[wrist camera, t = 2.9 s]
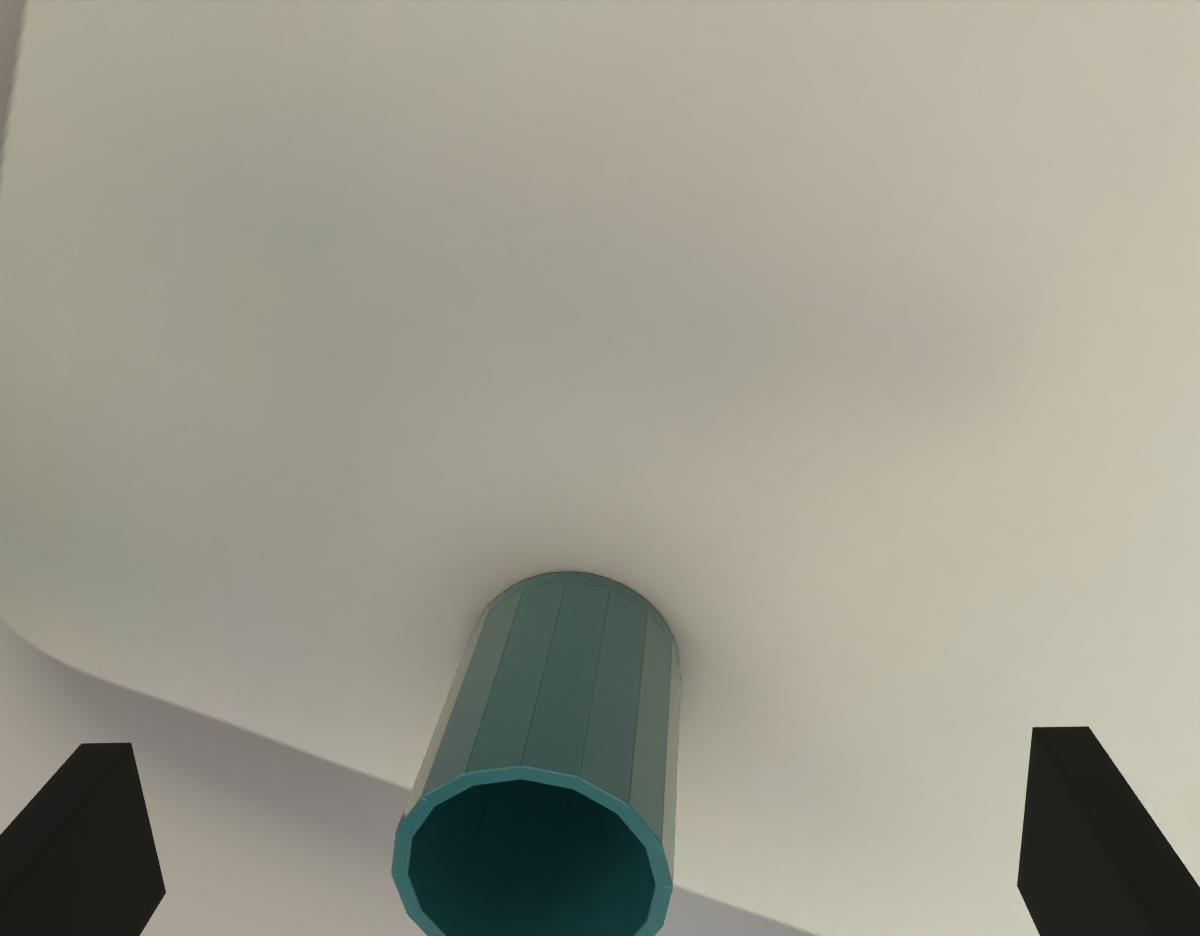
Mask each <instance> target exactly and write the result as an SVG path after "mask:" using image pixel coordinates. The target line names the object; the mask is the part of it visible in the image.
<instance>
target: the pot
mask: <svg viewBox="0 0 1200 936" xmlns="http://www.w3.org/2000/svg"><path fill="white" fill-rule="evenodd" d="M680 683H681V678H680V673H679V658H678V652H677V647H676V644H675V641H674V638H673V636H672V634H671V632H670V630H669V628H668V626H667V624H666V623H665V621H664V620H663V618H662V617H661V615H660V614H659V613H658V612H657V611H656V610H655V609H654V607H653V606H652V605H651V604H649V603H648V602H647V601H646V600H645V599H644V598H643V597H641V596H640V595H638V594H637V593H636V592H634V591H633V590H631V589H629V588H628V587H626V586H624V585H622V584H620V583H618V582H615V581H613V580H610V579H607V578H605V577H601V576H597V575H593V574H587V573H579V572H557V573H548V574H543V575H539V576H535V577H532V578H529V579H526V580H524V581H521V582H519V583H518V584H516V585H514V586H512V587H510V588H509V589H507V590H506V591H504V592H503V593H501V594H500V595H499V596H498V597H497V598H496V599H495V600H494V601H493V602H491V604H490V605H489V606H488V607H487V609H486V610H485V611H484V612H483V614H482V616H481V618H480V619H479V621H478V623H477V626H476V628H475V631H474V632H473V634H472V635H471V637H470V638H469V641H468V644H467V646H466V649H465V651H464V654H463V657H462V659H461V662H460V665H459V667H458V670H457V673H456V675H455V678H454V680H453V683H452V686H451V688H450V691H449V694H448V696H447V699H446V702H445V704H444V707H443V709H442V712H441V715H440V717H439V720H438V723H437V725H436V728H435V730H434V733H433V736H432V738H431V741H430V744H429V746H428V749H427V752H426V754H425V757H424V759H423V762H422V765H421V767H420V770H419V773H418V775H417V778H416V780H415V783H414V786H413V788H412V791H411V794H410V796H409V799H408V802H407V804H406V807H405V809H404V812H403V815H402V817H401V820H400V823H399V825H398V828H397V830H396V834H395V843H394V853H393V862H392V877H393V879H394V882H395V885H396V887H397V890H398V892H399V895H400V897H401V900H402V902H403V905H404V907H405V910H406V913H407V914H408V916H409V917H410V918H411V919H412V920H413V921H414V922H415V923H416V924H417V925H418V926H419V927H420V928H421V929H422V930H423V932H424V933H425V934H426V935H427V936H655V934H656V933H657V932H658V931H659V930H660V929H661V928H662V926H663V924H664V920H665V916H666V912H667V908H668V904H669V900H670V896H671V893H672V889H673V873H674V845H675V818H676V791H677V764H678V737H679V710H680Z"/></svg>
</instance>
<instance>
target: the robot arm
mask: <svg viewBox="0 0 1200 936" xmlns="http://www.w3.org/2000/svg"><path fill="white" fill-rule="evenodd" d="M1017 887H1018V889H1019V891H1020V893H1021V895H1022V897H1023V900H1024V902H1025V904H1026V906H1027V908H1028V910H1029V913H1030V915H1031V917H1032V919H1033V921H1034V923H1035V926H1036V928H1037V930H1038V932H1039V934H1040V936H1200V887H1199V886H1198V884H1197V883H1196V881H1195V880H1194V878H1193V877H1192V876H1191V874H1190V873H1189V871H1188V870H1187V868H1186V867H1185V865H1184V864H1183V863H1182V861H1181V860H1180V858H1179V857H1178V855H1177V854H1176V852H1175V851H1174V850H1173V848H1172V847H1171V845H1170V844H1169V842H1168V841H1167V839H1166V838H1165V836H1164V835H1163V834H1162V832H1161V831H1160V829H1159V828H1158V826H1157V825H1156V823H1155V822H1154V821H1153V819H1152V818H1151V816H1150V815H1149V813H1148V812H1147V810H1146V809H1145V808H1144V806H1143V805H1142V803H1141V802H1140V800H1139V799H1138V797H1137V796H1136V795H1135V793H1134V792H1133V790H1132V789H1131V787H1130V786H1129V784H1128V783H1127V782H1126V780H1125V779H1124V777H1123V776H1122V774H1121V773H1120V771H1119V770H1118V769H1117V767H1116V766H1115V764H1114V763H1113V761H1112V760H1111V758H1110V757H1109V756H1108V754H1107V753H1106V751H1105V750H1104V748H1103V747H1102V745H1101V744H1100V743H1099V741H1098V740H1097V738H1096V737H1095V735H1094V734H1093V732H1092V731H1091V729H1090V728H1089V727H1033V730H1032V740H1031V750H1030V760H1029V771H1028V781H1027V791H1026V801H1025V811H1024V822H1023V832H1022V842H1021V852H1020V863H1019V873H1018V883H1017ZM165 893H166V891H165V886H164V882H163V878H162V874H161V869H160V865H159V860H158V856H157V852H156V848H155V843H154V839H153V835H152V830H151V826H150V822H149V817H148V813H147V809H146V805H145V800H144V796H143V792H142V787H141V783H140V779H139V775H138V770H137V766H136V762H135V758H134V753H133V750H132V744H131V743H89V744H81V745H80V746H79V747H78V748H77V749H76V750H75V752H74V753H73V754H72V755H71V756H70V757H69V758H68V759H67V760H66V762H65V763H64V764H63V765H62V766H61V767H60V768H59V769H58V771H57V772H56V773H55V774H54V775H53V776H52V777H51V779H50V780H49V781H48V782H47V783H46V784H45V785H44V786H43V787H42V789H41V790H40V791H39V792H38V793H37V795H35V797H34V798H33V799H32V800H31V801H30V802H29V803H28V805H27V806H26V807H25V808H24V809H23V810H22V811H21V812H20V814H19V815H18V816H17V817H16V818H15V819H14V820H13V821H12V822H11V824H10V825H9V826H8V827H7V828H6V829H5V830H4V831H3V833H2V834H1V835H0V936H140V934H141V932H142V931H143V929H144V927H145V926H146V924H147V922H148V921H149V919H150V918H151V916H152V914H153V913H154V911H155V910H156V908H157V906H158V905H159V903H160V901H161V900H162V898H163V897H164V895H165Z"/></svg>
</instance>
